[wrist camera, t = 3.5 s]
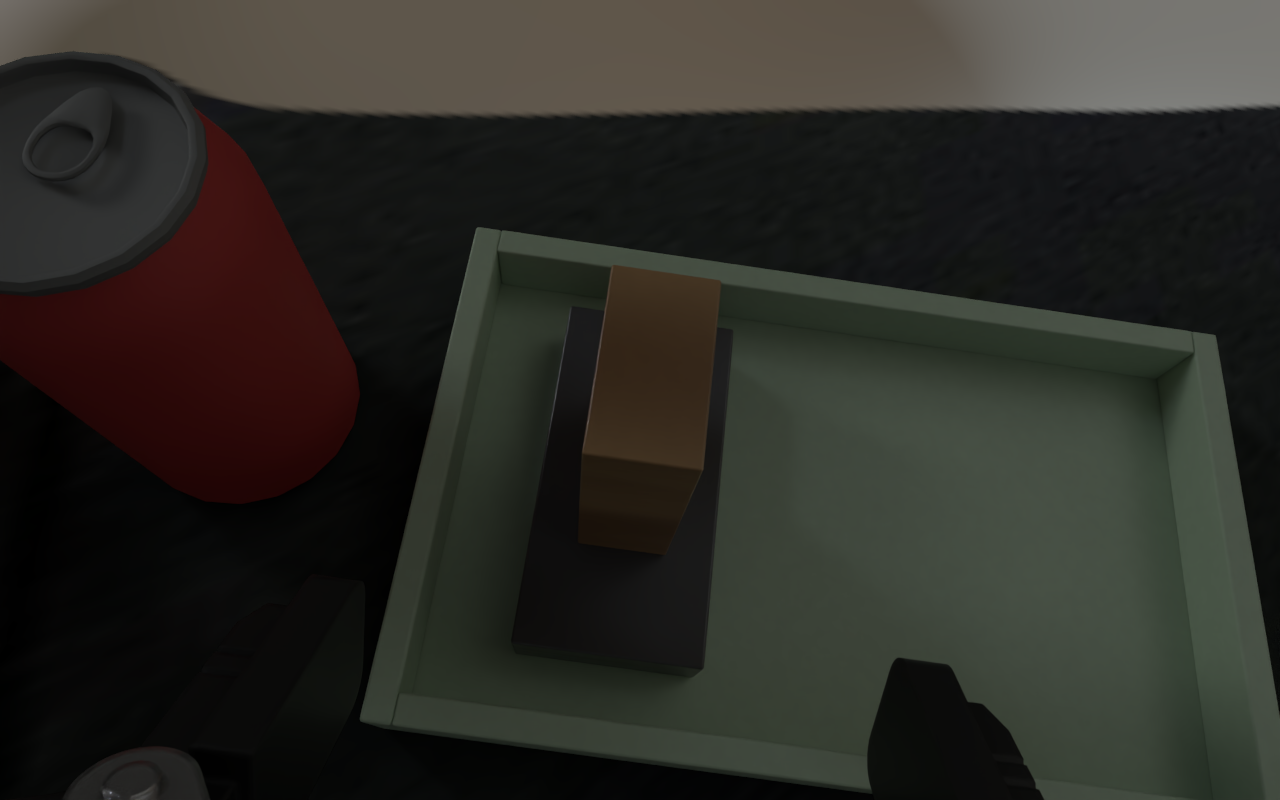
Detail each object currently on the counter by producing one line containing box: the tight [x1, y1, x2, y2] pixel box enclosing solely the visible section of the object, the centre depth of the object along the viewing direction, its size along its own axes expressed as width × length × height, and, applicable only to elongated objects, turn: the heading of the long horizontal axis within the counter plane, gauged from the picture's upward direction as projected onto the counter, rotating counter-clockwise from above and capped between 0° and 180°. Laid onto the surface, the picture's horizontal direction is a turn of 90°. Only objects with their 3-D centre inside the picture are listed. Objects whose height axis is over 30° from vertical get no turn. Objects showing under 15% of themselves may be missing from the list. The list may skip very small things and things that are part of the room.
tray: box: [360, 227, 1280, 800], centre depth 26 cm, size 24×15×3 cm, turn 83°
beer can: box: [0, 52, 360, 504], centre depth 22 cm, size 7×7×12 cm
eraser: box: [511, 265, 734, 678], centre depth 22 cm, size 10×5×9 cm, turn 173°
